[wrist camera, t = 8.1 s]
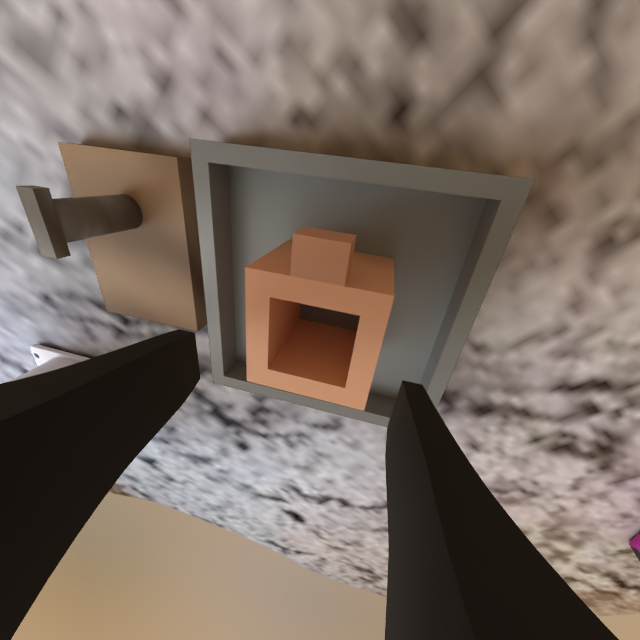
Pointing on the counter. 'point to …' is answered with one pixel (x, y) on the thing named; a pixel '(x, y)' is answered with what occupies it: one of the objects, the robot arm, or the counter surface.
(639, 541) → the candy bar box
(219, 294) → the tray
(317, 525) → the counter surface
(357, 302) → the collar
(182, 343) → the robot arm
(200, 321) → the stake board
